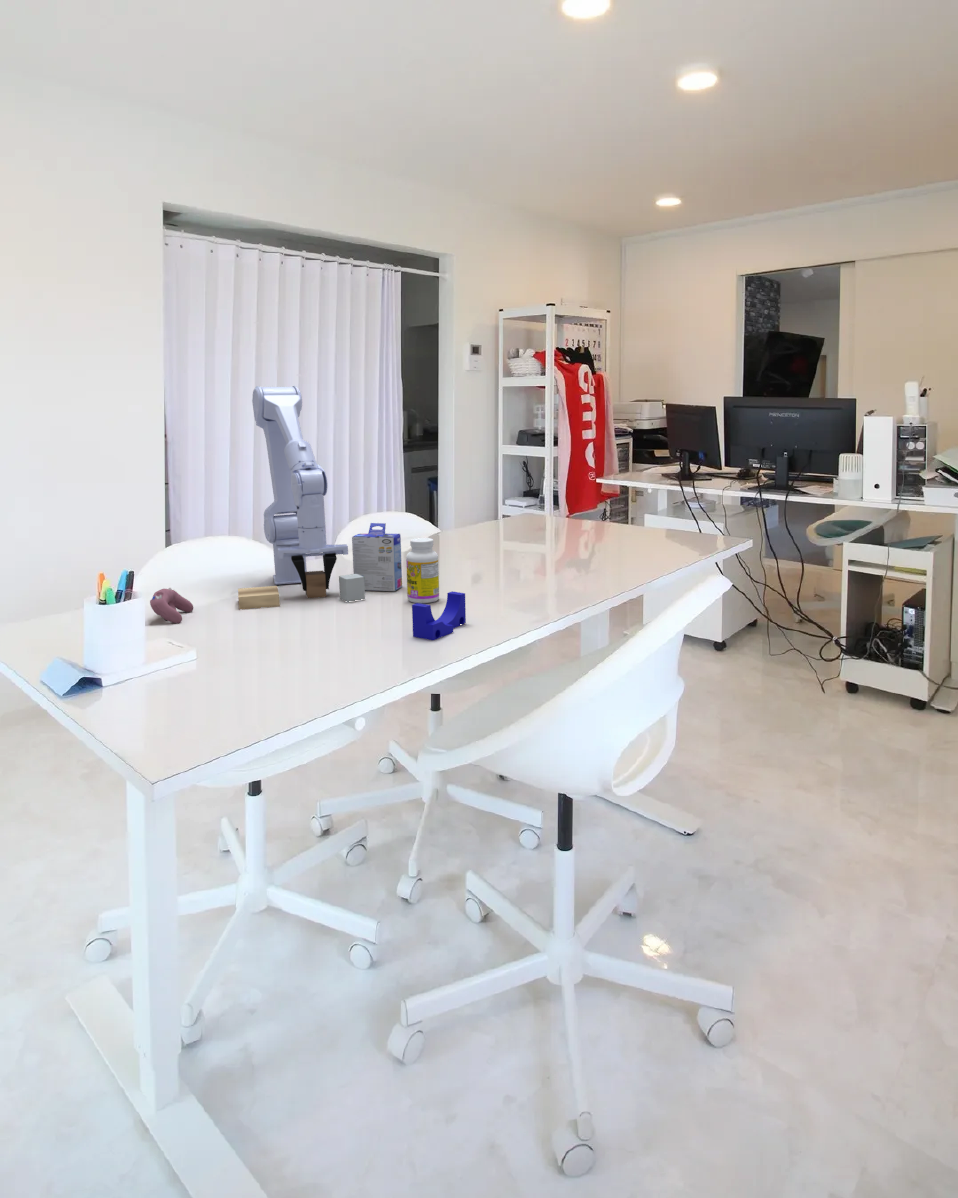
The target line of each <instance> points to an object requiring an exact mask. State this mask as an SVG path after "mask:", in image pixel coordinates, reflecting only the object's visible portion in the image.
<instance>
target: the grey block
mask: <svg viewBox="0 0 958 1198" xmlns="http://www.w3.org/2000/svg"><path fill="white" fill-rule="evenodd" d="M338 585H339V586H338V587H339V599H340V600H341V599H343V600H345V601H347V602H348V603H350V602H349V601H355V600H361V599H365V600H366V594H365V593H366V592H365V591H366V590H365V588H364V577H363V576H361V575H358V574H354V573H352V574H345V575H338ZM343 600H342V601H343ZM345 601H344V602H345ZM347 602H346V603H347ZM355 602H356V601H355Z"/></svg>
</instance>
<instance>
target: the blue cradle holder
mask: <svg viewBox="0 0 958 1198" xmlns="http://www.w3.org/2000/svg"><path fill="white" fill-rule="evenodd" d="M446 594H447V597H446V604H445V606H444V609H443V612H442V613H441V615H440V616H439V617H438V618H437V619H435V618H434V615H433V613H432V606H431V604H427V603H413V604H411V618H412V619H411V621H412V637H413V638H417V639H423V640H427V641H428V640H429V641H435V640H438V639H440V638H442V637H446V636H448V635H450V634H453V633H454V629H456V628H458V627H460V624H463V625H465V624H464V623H466V621H467V620H466V619H467V616H466V615H467V613H466V610H467V609H466V593H465V592H460V591H459V592H458V591H449V592H447V593H446ZM452 632H453V633H452Z"/></svg>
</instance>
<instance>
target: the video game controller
mask: <svg viewBox="0 0 958 1198" xmlns="http://www.w3.org/2000/svg"><path fill="white" fill-rule="evenodd" d="M149 604H150V607H151V609H152V610H153V612H154V613H155V614H156V615H157V616H160V617H161V618H162V619H164V620H165V621H166V620H167V622H170V623H172V624H180V623H182V621H183V616H182V614H181V613H180V612H179V611H182V612H184V613H185V612H186V613H191V612H193V611H194V605H193V603H192V602H191V601H190V600H189V599H187V598H185V597H184V596H182V595H181V594H179V593H178V592H177V591H176V590H175V589H172V588H171V587H169V588H161V589H159V590H157V591H155V592H154V593H153V596H152V598H151V599H150V600H149Z"/></svg>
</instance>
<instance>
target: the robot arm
mask: <svg viewBox="0 0 958 1198" xmlns="http://www.w3.org/2000/svg"><path fill="white" fill-rule="evenodd" d="M301 392H302V391H300V388H298V386H296V385H293V386H260V385H256V386H255V387H254V389H253V391H252V399H251V402H252V410H253V417H254V421H255V425H256V426H257V427H259V428H261V429H262V430H263V433H264V436H265V442H266V443H265V444H266V449H267V457H268V464H269V473H270V478H271V486H272V492H273V495H272V496H273V502H272V503H270V505H268V506H267V507H266V509H265V510H264V512H263V530H264V531H263V532H264V537H265V539H266V541H267V542H268V543H270V544H272V548H273V561H274V563H273V564H274V574H273V575H272V578H273V582H274V586H278V585H290V584H300V583H301V585H302V591H304V592H306V591H307V586H306V579H305V572H308V571H307V570H308V569H307V568H308V567H307V559H306V558H307V557H317V556H322V560H323V563H322V564H323V571H324V573H325V580H326V590H329V589H330V588H329V587H330V582H331V581H330V580H331V576H332V573H333V570H334V567H335V565H336V563H337V559H338V557H337V555H343V556H344V555H346V556H347V555H349V546H348V544H347V543H346V544H327V529H326V527H327V526H326V516H325V515H326V513H325V496H326V495H327V492H328V477H327V475H326V474H327V473H326V471H325V469H324V468H323V467H322V465H320V464H318V463H317V460H316V458H315V455H314V451H313V449H312V446H311V444H310V443H309V441H307V440H304V436H303V433H302V432H303V431H302V428H301V425H300V420H299V417H300V416H301V411H302V407H303V396H302V393H301Z"/></svg>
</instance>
